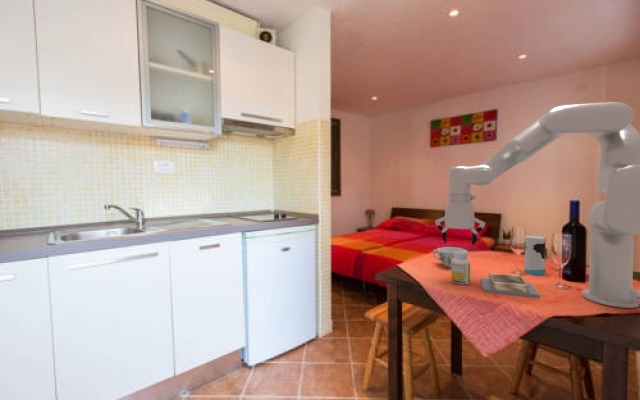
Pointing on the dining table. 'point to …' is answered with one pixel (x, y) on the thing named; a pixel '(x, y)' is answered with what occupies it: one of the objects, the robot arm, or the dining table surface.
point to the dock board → (488, 288)
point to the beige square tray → (508, 286)
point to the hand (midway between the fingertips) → (458, 243)
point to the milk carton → (535, 255)
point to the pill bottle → (460, 268)
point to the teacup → (447, 254)
